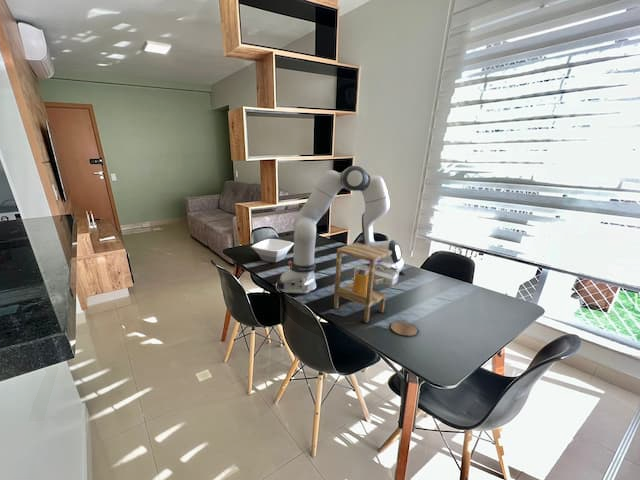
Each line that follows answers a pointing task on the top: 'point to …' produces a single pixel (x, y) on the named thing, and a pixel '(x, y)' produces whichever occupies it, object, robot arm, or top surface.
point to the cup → (360, 282)
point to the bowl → (272, 249)
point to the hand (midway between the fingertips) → (365, 279)
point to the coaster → (403, 329)
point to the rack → (372, 295)
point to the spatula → (399, 272)
